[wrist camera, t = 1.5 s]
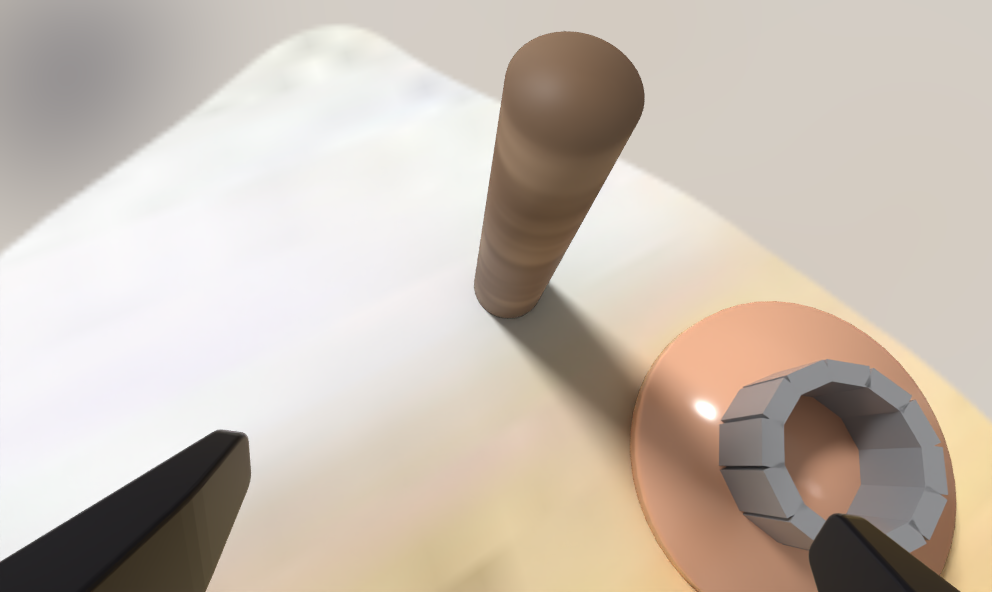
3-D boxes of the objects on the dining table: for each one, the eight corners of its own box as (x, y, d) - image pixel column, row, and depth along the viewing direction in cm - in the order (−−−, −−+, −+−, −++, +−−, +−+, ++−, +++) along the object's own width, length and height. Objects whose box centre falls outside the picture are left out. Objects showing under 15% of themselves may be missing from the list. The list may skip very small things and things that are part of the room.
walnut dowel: (551, 305, 24) (668, 127, 11) (488, 328, 23) (538, 167, 11) (526, 245, 24) (608, 18, 12) (464, 266, 24) (483, 49, 11)
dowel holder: (990, 550, 22) (1111, 569, 18) (723, 698, 19) (795, 758, 15) (825, 271, 25) (897, 234, 21) (579, 368, 23) (607, 347, 19)
